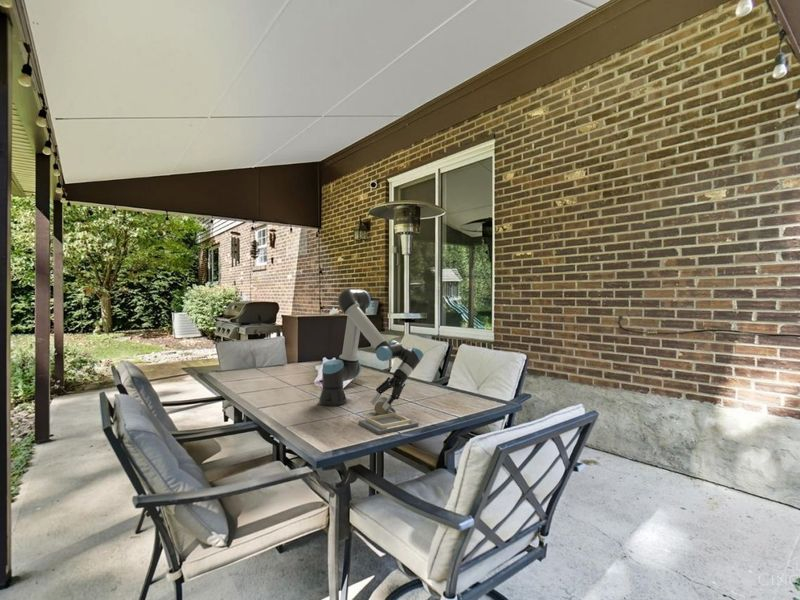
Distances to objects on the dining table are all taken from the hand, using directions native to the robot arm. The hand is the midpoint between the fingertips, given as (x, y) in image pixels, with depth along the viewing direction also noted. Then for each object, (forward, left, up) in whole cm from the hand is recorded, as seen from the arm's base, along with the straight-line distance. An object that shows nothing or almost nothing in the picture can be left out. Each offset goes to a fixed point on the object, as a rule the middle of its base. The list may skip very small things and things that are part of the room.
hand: (377, 406), depth 217 cm
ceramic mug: (+1, +4, -5) cm, 6 cm away
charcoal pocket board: (+18, -5, -4) cm, 19 cm away
